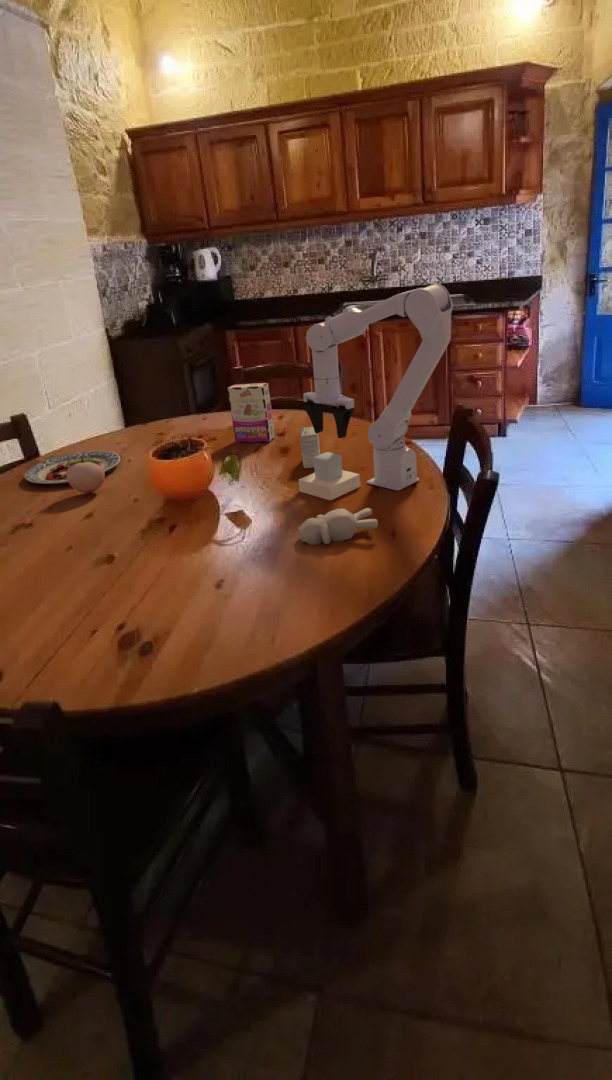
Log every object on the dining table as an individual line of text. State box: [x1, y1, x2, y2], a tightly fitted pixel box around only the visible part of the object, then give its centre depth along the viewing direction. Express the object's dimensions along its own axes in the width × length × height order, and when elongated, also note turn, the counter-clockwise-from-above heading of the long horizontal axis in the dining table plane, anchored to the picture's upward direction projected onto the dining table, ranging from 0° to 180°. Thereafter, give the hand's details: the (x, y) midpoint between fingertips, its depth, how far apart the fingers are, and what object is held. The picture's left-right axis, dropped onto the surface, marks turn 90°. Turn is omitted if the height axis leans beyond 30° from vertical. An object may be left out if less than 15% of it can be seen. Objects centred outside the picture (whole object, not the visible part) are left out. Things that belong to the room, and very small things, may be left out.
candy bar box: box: [227, 382, 276, 444], centre depth 191 cm, size 11×5×16 cm, turn 73°
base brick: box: [298, 469, 361, 501], centre depth 152 cm, size 10×10×3 cm
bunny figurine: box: [298, 507, 379, 546], centre depth 128 cm, size 10×5×15 cm
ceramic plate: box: [24, 450, 121, 485], centre depth 183 cm, size 26×26×3 cm
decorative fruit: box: [64, 456, 106, 495], centre depth 164 cm, size 9×8×10 cm
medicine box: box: [300, 426, 321, 469], centre depth 169 cm, size 8×4×9 cm, turn 179°
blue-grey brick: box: [313, 451, 343, 482], centre depth 151 cm, size 4×4×5 cm
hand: (330, 434), depth 156 cm, fingers open, 7 cm apart
